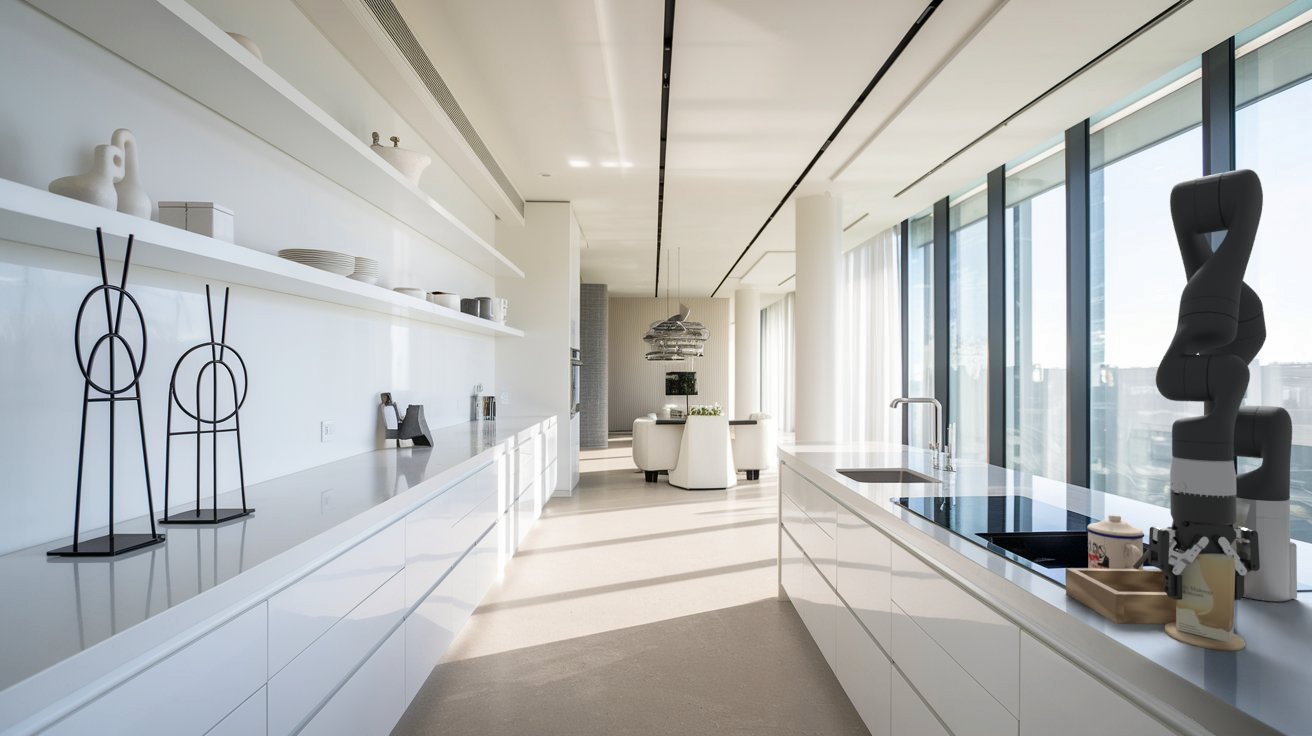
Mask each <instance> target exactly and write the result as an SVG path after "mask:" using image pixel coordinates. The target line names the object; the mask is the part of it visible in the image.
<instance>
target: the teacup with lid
mask: <svg viewBox="0 0 1312 736" xmlns="http://www.w3.org/2000/svg"><path fill="white" fill-rule="evenodd" d="M1086 531H1087V539H1088V540H1087V547H1088V549H1087V552H1088V553H1087V554H1088V560H1087V561H1088V563H1087V565H1088V568H1091V569H1135V568H1134V567H1133V566H1134V564H1135V563H1136V562H1137V561H1138V560H1139V559H1140V558H1141V557H1142V555H1143V554H1144V548H1143V547H1144V545H1143V543H1144V539H1143V538H1144V537H1145V533H1144V532H1143V530H1142V529H1140V528H1138V527H1136V526H1133V525H1131V524H1129V523H1128V522H1126V521H1124V520H1122V517H1121V515H1119V514H1109V515H1108V519H1107V518H1106V519H1101V520H1100V521H1098V522H1092V523H1089V524H1088V525H1087V527H1086ZM1138 569H1144V563H1143V564H1142V565H1141V566H1140V567H1139V568H1138Z"/></svg>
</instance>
